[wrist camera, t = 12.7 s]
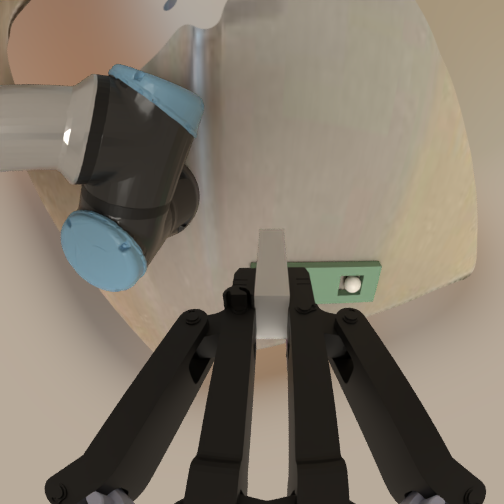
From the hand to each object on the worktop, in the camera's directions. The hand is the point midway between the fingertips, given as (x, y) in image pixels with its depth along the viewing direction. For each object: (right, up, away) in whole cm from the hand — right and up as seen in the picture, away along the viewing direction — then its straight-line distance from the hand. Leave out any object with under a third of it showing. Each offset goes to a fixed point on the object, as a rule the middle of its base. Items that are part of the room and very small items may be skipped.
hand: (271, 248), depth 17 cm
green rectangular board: (+12, -6, +37) cm, 39 cm away
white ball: (+19, -7, +35) cm, 40 cm away
